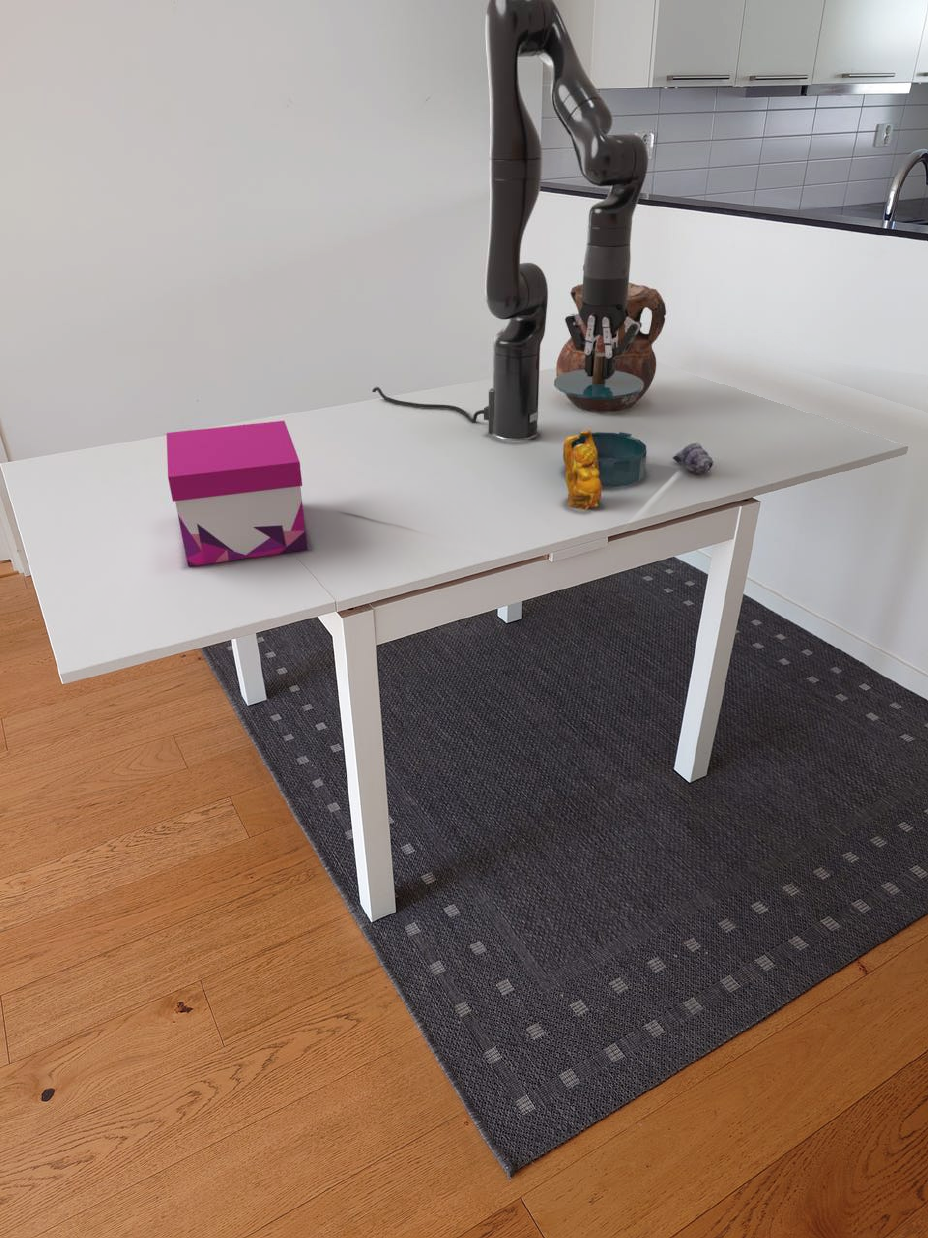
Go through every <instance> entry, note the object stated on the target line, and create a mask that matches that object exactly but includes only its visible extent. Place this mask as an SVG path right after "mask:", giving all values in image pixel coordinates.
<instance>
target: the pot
mask: <svg viewBox="0 0 928 1238" xmlns="http://www.w3.org/2000/svg"><path fill="white" fill-rule="evenodd" d="M591 433H592V438H593V442H594V444H595V447H596V449H597V455H598V470H599V472H600V474H599V479H600V481H601V484H602V488H605V487H606V488H617V487H624V486H630V485H632V484H634V483H638V482H639V481H640V480H642V479H643V478H644V477H645V471H646V470H645V469H646V462H647V461H646V460H647V451H648V450H647V445H646V444H645V443H644V442H643V441H642V440H641V439H639V438H636V437H633V435H632V433H627V432H620V431H619V432H617V433H616V432H604V431H603V432H601V431H596V432H591ZM577 436H579V439H577V440H575V441H573V442H572V449H573V448H574V447H575V446H576V445H578V444H584V443H585V436H582V435H580V434H578V435H577ZM564 473H565V474H566V471H565V470H564Z"/></svg>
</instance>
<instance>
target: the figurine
mask: <svg viewBox="0 0 928 1238" xmlns="http://www.w3.org/2000/svg"><path fill="white" fill-rule="evenodd" d="M592 433H593V432H592V431H591V430H590V429H587V430H585V431H583V430H582V431H580V432H579V435H582V436H585V443H584V444H578V445H576V446H575V447H574V448H573V449H572V442H573V441H575V440H577V439H579V436H578V435H571V436H567V437H566V439H565V440H564V444H563V446H562V447H563V448H562V449H563V452H562V453H563V454H562V459H563V464H564V472H565V471H566V473H565V483H566V488H567V492H568V494H567V505H568V506H569V507H570V508H574V509H577V510H589V509H590V508H591V507H592V508H593V507H598V506H599V501H600V500H601V499H602V491H603V487H602V484H601V481H600V479H599V474H600V472H599V470H598V459H599V458H598V455H597V449H596V447H595V444H594V442H593V438H592Z"/></svg>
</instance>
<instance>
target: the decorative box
mask: <svg viewBox="0 0 928 1238" xmlns="http://www.w3.org/2000/svg"><path fill="white" fill-rule="evenodd" d="M166 456H167V461H166V462H167V478H168V479H167V480H168V483H169V484H168V485H169V490H170V494H171V499H172V502H173V503H175V508H176V514H177V517H178V523H179V528H180V534H181V538H182V543H183V548H184V553H185V557H186V558H185V559H186V564H187V567H194V566H201V565H209V564H215V563H223V562H230V561H238V560H244V559H249V558H250V559H251V558H259V557H266V556H273V555H279V554H280V555H281V554H288V553H294V552H303V551H308V542H307V541H308V539H307V534H306V533H307V532H306V524H305V516H304V508H303V507H304V506H303V498H302V489H301V488H302V487H303V480H302V472H301V471H302V470H301V462H300V459H299V456H298V454H297V451H296V448H295V445H294V443H293V441H292V437H291V435H290V432H289V429H288V426H287V424H286V420H278V421H277V420H276V421H267V422H258V423H248V424H240V425H239V424H238V425H230V426H228V425H227V426H218V427H210V428H209V427H208V428H201V429H190V430H182V431H181V430H180V431H171V432H166Z"/></svg>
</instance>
